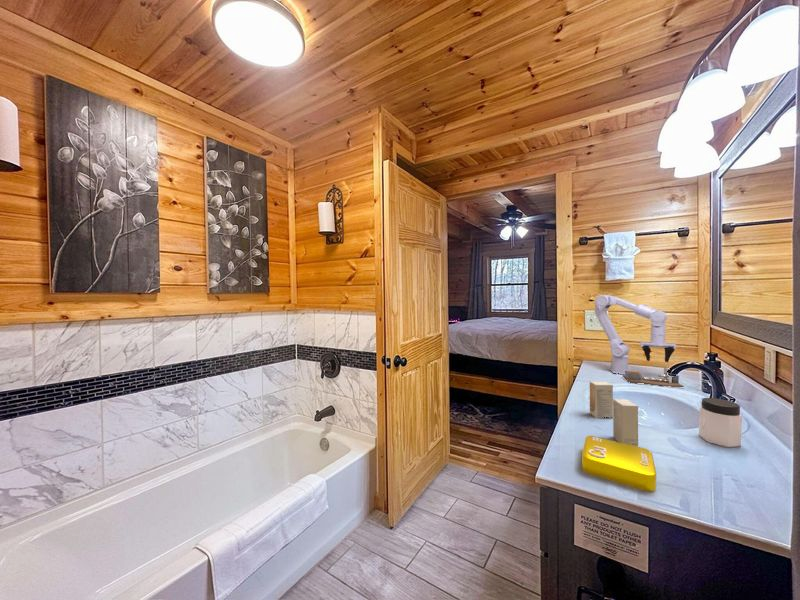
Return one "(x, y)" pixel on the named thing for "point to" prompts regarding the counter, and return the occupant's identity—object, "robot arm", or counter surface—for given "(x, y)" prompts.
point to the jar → (720, 422)
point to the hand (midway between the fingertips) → (657, 361)
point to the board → (654, 382)
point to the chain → (660, 378)
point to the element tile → (619, 463)
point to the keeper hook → (674, 379)
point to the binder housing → (633, 375)
